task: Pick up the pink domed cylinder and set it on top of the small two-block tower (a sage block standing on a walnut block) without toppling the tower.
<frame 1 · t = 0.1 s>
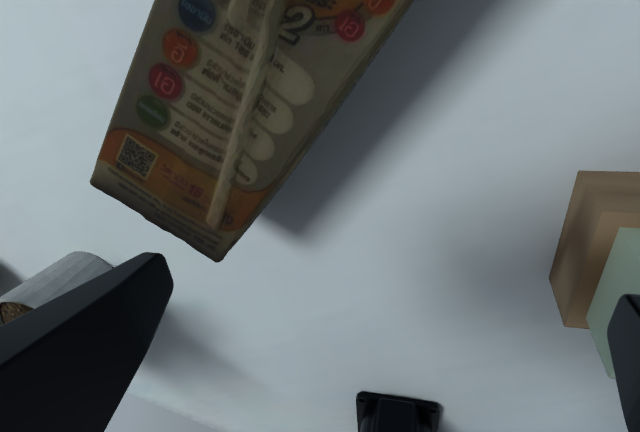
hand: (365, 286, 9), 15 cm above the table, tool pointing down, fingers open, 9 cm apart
base block: (634, 229, 22), on the table, touching top block
beverage carton: (281, 39, 21), on the table
house plant: (81, 264, 34), on the table
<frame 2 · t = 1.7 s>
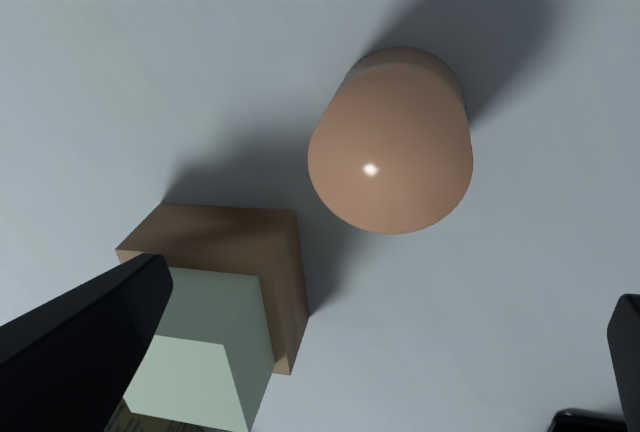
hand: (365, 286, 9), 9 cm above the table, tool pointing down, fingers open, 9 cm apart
base block: (240, 260, 23), on the table, touching top block
top block: (209, 316, 19), point 4 cm above the table, touching base block
beverage carton: (163, 420, 35), on the table
pink domed cylinder: (397, 113, 16), on the table
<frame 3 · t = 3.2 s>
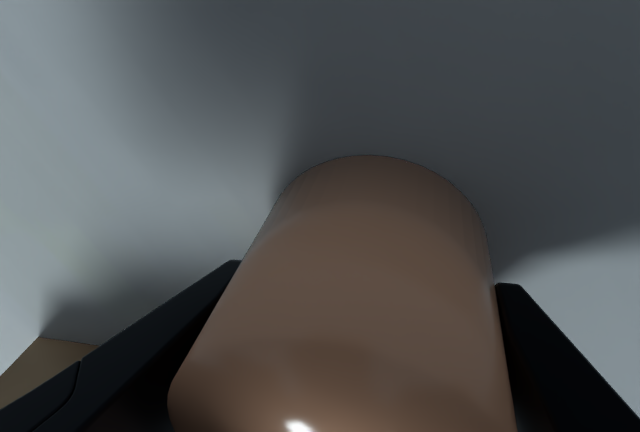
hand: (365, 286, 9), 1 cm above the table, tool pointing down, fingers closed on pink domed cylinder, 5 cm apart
base block: (161, 406, 16), on the table, touching top block
pink domed cylinder: (371, 254, 9), on the table, touching gripper
when the fingers open (10 cm above the table, at t = 5.8 s): pink domed cylinder drops 1 cm, resting on top block.
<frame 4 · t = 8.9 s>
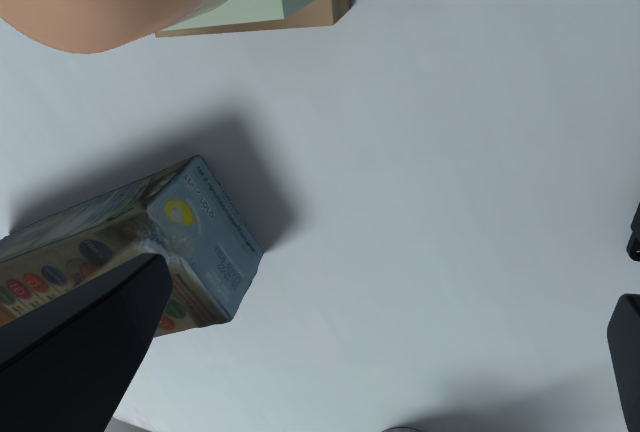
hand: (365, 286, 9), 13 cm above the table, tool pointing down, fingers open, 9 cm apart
beverage carton: (130, 240, 29), on the table
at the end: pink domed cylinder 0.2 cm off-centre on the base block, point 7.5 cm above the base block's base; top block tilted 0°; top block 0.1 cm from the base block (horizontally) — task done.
